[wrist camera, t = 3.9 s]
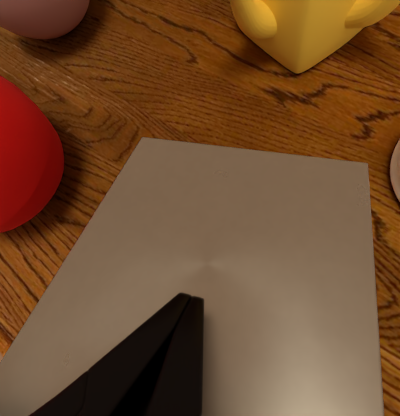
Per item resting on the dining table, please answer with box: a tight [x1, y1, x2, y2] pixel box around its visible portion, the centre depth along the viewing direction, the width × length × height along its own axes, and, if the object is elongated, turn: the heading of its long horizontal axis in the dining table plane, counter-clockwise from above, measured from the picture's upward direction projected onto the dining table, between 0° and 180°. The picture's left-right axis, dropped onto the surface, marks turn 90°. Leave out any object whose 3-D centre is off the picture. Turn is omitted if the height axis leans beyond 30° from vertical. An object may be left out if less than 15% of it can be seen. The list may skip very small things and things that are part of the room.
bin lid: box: [0, 137, 384, 416], centre depth 11 cm, size 13×12×1 cm
